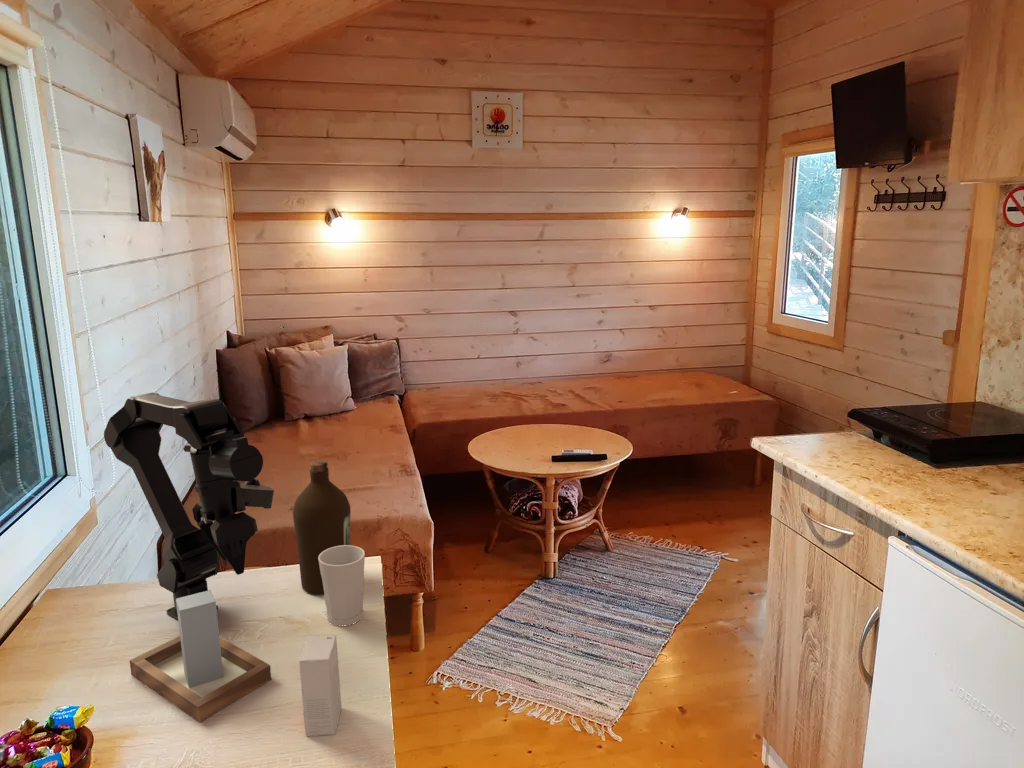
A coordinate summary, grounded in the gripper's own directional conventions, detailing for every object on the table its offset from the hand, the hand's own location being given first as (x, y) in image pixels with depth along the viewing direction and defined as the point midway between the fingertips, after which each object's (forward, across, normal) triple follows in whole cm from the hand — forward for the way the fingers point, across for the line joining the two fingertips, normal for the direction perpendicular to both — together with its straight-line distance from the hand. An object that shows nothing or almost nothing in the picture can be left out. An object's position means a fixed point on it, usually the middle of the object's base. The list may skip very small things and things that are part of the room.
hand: (233, 566), depth 121 cm
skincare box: (+17, -27, -3) cm, 32 cm away
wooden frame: (+13, -6, +9) cm, 17 cm away
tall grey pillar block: (+13, -7, +9) cm, 17 cm away
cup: (+15, -3, -16) cm, 22 cm away
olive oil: (+13, +10, -18) cm, 25 cm away
